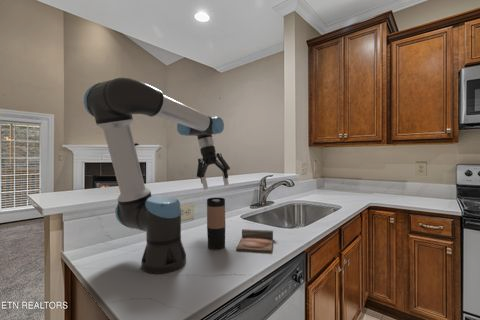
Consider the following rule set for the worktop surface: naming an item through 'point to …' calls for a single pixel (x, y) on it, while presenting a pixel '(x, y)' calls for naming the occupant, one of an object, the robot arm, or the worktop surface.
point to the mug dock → (256, 241)
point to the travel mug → (216, 223)
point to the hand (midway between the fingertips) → (216, 187)
